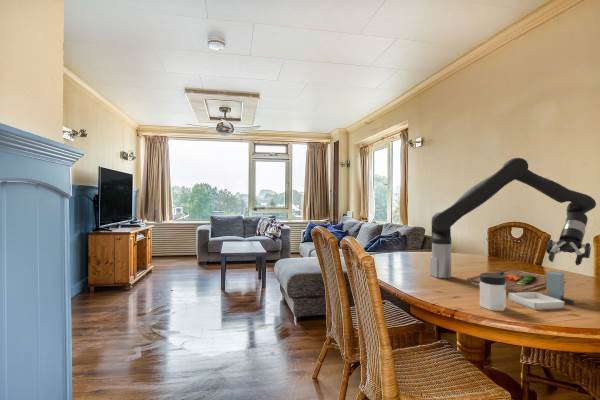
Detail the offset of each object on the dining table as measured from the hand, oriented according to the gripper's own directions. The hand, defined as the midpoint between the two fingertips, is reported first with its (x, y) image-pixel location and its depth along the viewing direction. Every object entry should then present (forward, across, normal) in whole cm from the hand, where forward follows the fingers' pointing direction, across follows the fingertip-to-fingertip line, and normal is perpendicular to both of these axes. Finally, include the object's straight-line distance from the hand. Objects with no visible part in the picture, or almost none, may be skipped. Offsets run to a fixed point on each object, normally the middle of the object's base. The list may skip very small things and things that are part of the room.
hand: (563, 262), depth 133 cm
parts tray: (+24, -3, -4) cm, 25 cm away
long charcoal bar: (+17, 0, +3) cm, 17 cm away
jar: (+37, -11, -17) cm, 42 cm away
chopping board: (+3, -22, +18) cm, 29 cm away
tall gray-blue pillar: (+17, 0, +3) cm, 17 cm away
